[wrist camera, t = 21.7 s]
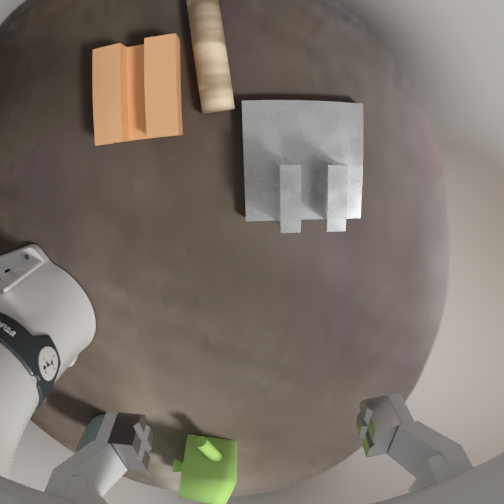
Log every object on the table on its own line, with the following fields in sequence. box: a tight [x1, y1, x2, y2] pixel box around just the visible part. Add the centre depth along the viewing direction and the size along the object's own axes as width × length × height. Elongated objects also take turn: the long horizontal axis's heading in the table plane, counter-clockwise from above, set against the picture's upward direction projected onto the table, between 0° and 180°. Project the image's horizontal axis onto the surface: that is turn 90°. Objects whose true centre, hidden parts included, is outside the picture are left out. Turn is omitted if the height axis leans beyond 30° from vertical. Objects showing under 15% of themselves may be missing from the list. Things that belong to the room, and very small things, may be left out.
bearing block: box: [242, 100, 363, 233], centre depth 30 cm, size 12×12×6 cm
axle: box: [186, 0, 235, 114], centre depth 27 cm, size 14×3×3 cm
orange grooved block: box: [92, 33, 183, 146], centre depth 27 cm, size 8×10×4 cm
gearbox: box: [173, 434, 237, 504], centre depth 45 cm, size 18×10×10 cm, turn 167°
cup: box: [75, 415, 105, 453], centre depth 42 cm, size 8×8×10 cm
